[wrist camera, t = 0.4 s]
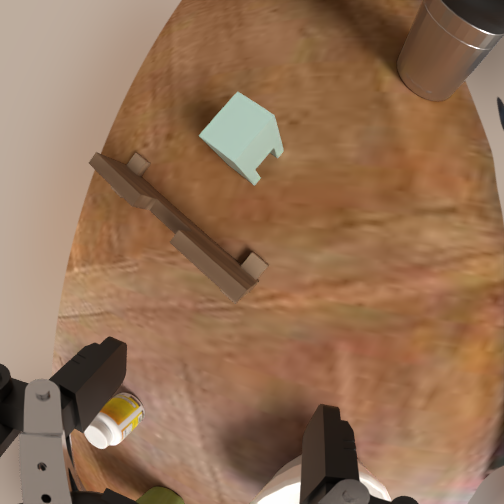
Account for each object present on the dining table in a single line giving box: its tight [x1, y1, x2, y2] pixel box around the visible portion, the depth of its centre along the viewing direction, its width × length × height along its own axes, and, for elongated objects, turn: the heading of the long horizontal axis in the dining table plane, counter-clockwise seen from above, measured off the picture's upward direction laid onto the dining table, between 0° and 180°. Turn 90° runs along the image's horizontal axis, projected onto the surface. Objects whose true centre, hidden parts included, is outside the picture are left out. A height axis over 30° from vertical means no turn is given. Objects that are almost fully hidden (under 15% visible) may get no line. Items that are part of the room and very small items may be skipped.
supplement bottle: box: [84, 393, 145, 449], centre depth 36 cm, size 6×6×10 cm
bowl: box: [249, 455, 391, 504], centre depth 32 cm, size 18×18×9 cm
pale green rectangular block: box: [199, 92, 284, 186], centre depth 31 cm, size 6×4×11 cm
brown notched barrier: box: [89, 153, 269, 304], centre depth 35 cm, size 6×24×8 cm, turn 50°
